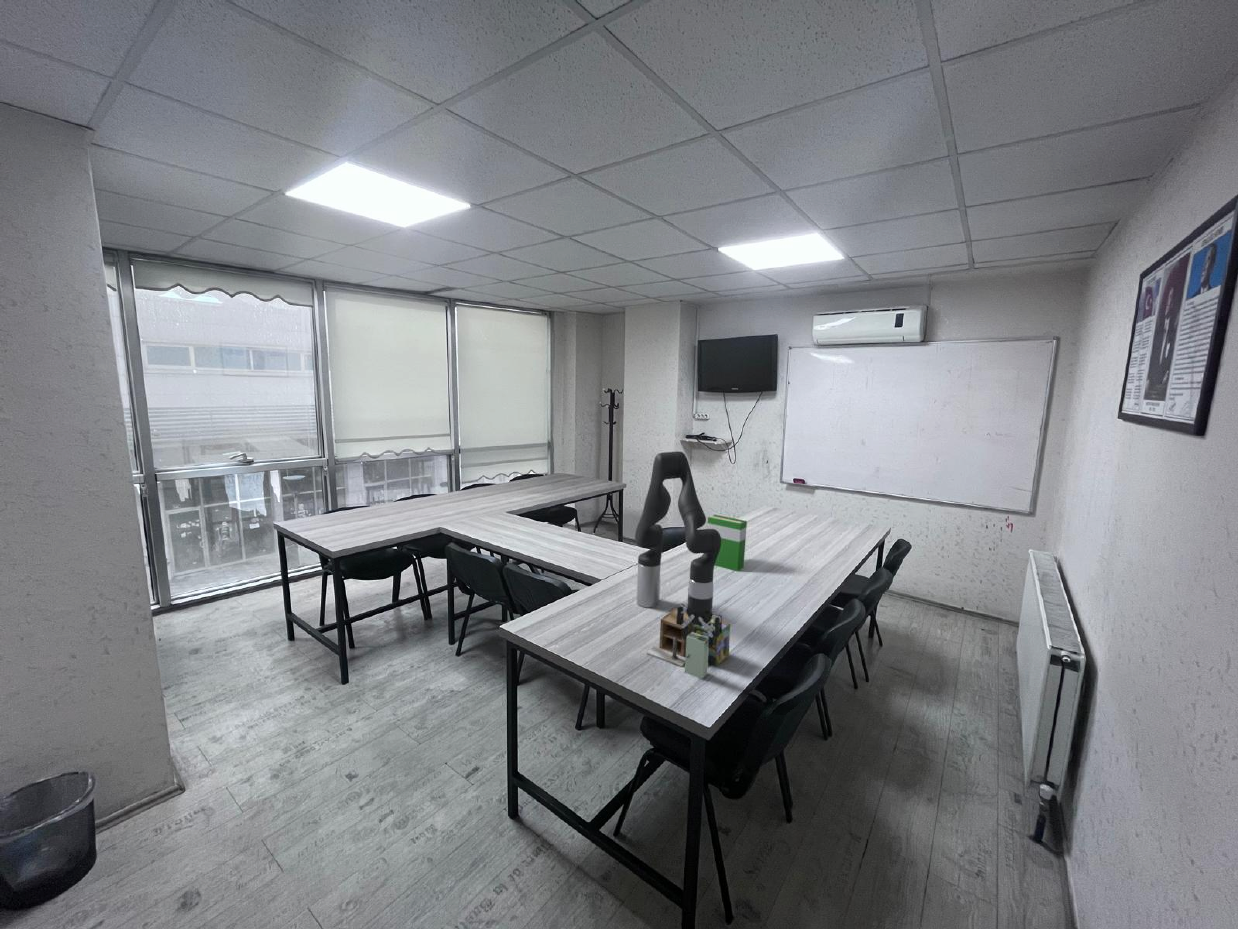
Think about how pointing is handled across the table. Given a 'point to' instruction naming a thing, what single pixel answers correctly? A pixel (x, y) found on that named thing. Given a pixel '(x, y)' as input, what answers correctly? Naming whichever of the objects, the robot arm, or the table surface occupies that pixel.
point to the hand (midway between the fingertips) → (697, 642)
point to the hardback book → (730, 541)
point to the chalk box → (716, 643)
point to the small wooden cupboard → (671, 640)
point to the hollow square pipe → (696, 655)
